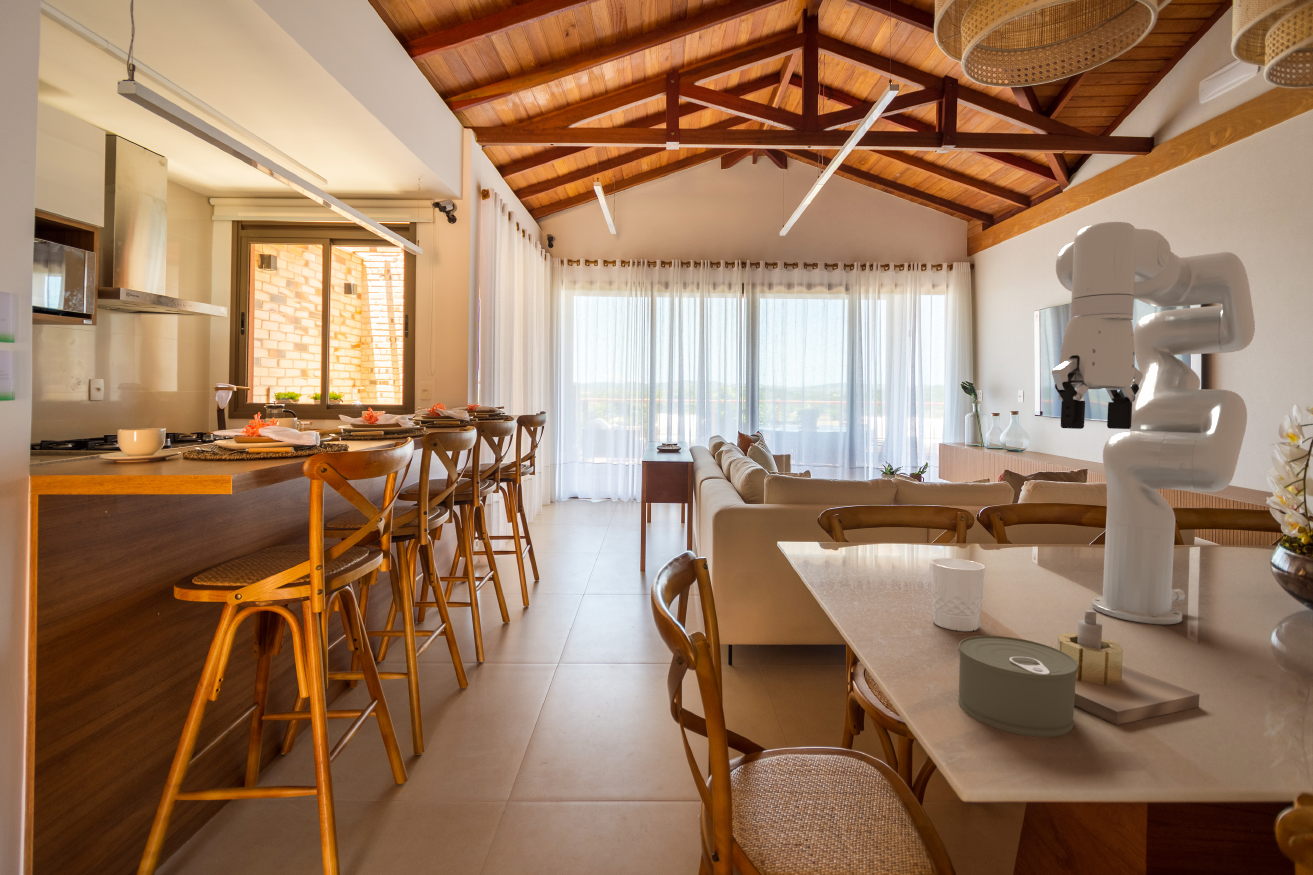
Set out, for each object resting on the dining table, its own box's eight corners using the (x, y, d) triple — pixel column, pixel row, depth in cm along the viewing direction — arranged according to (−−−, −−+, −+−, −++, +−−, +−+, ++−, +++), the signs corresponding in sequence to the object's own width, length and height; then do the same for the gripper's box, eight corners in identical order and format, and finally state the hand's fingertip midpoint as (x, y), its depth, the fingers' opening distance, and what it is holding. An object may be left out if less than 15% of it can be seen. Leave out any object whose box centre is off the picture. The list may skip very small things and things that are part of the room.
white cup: (989, 635, 100) (991, 571, 100) (934, 630, 102) (937, 567, 101) (974, 618, 108) (977, 559, 107) (924, 615, 109) (926, 556, 109)
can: (1037, 690, 80) (1039, 636, 80) (1100, 740, 68) (1103, 676, 68) (939, 688, 81) (941, 633, 80) (985, 736, 69) (988, 673, 68)
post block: (1064, 654, 92) (1067, 588, 92) (1198, 706, 76) (1203, 627, 76) (989, 666, 88) (992, 597, 87) (1116, 724, 72) (1120, 640, 71)
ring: (1081, 660, 86) (1083, 631, 86) (1132, 680, 80) (1134, 648, 80) (1045, 666, 84) (1046, 636, 84) (1094, 687, 78) (1096, 654, 78)
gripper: (1116, 318, 101) (1111, 428, 102) (1034, 311, 95) (1029, 427, 96) (1168, 312, 94) (1162, 429, 95) (1084, 303, 88) (1078, 429, 89)
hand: (1095, 428), depth 95 cm, fingers open, 9 cm apart
